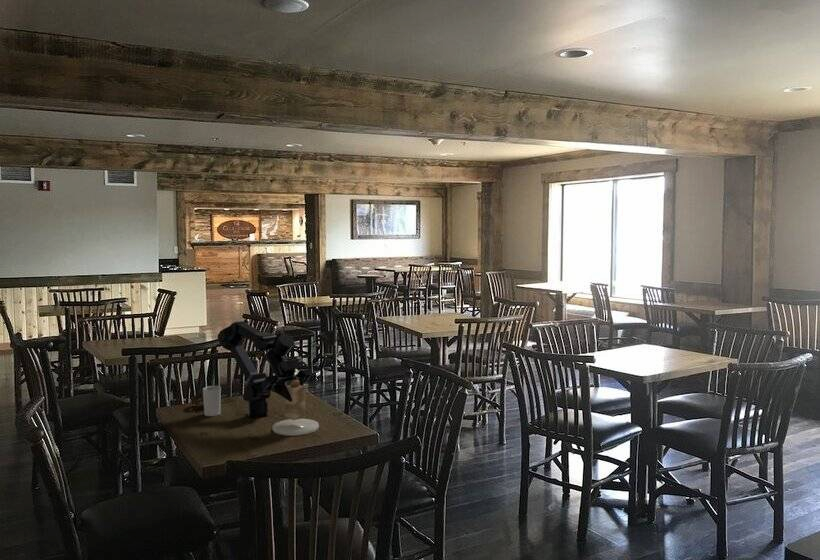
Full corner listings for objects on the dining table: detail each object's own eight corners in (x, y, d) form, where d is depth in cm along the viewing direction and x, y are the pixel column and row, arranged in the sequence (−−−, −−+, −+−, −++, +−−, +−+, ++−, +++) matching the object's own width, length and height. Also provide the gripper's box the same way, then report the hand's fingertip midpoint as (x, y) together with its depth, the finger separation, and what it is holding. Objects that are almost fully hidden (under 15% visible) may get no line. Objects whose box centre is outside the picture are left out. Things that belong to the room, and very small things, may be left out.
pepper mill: (293, 420, 222) (293, 383, 221) (285, 417, 225) (284, 380, 224) (305, 417, 225) (305, 380, 224) (296, 414, 229) (296, 378, 228)
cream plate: (278, 438, 215) (278, 434, 215) (268, 425, 229) (268, 421, 229) (324, 431, 222) (324, 428, 222) (311, 419, 236) (311, 416, 236)
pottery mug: (210, 412, 248) (199, 394, 247) (195, 419, 252) (184, 402, 251) (230, 397, 258) (218, 379, 257) (215, 404, 263) (204, 387, 262)
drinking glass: (223, 411, 247) (223, 385, 246) (219, 416, 240) (218, 390, 239) (206, 411, 247) (205, 386, 246) (201, 416, 240) (200, 390, 239)
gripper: (265, 354, 219) (285, 391, 213) (308, 346, 233) (328, 381, 226) (252, 372, 225) (271, 410, 219) (295, 364, 239) (314, 399, 232)
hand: (297, 399), depth 224 cm, fingers closed on pepper mill, 5 cm apart
